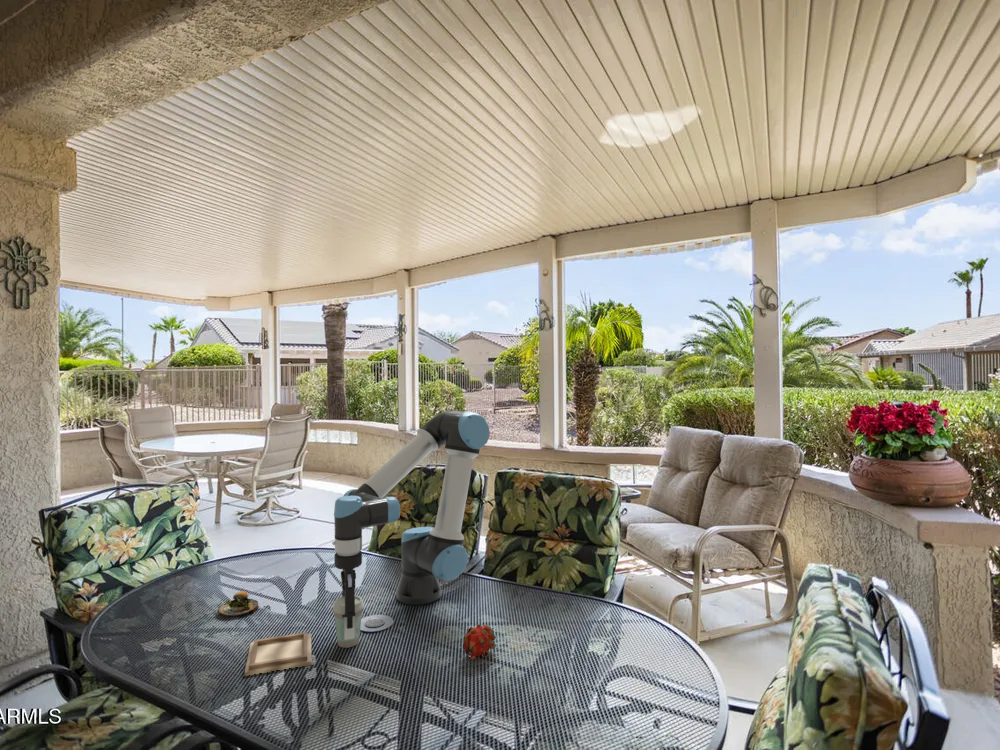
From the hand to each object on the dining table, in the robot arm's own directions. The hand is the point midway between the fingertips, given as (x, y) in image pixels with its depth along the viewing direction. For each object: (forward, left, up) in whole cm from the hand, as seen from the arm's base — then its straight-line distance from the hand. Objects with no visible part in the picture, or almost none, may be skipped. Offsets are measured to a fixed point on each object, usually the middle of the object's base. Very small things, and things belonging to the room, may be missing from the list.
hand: (348, 630), depth 155 cm
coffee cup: (0, 0, -4) cm, 4 cm away
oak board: (+18, +1, -3) cm, 18 cm away
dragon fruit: (-33, +19, -4) cm, 38 cm away
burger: (+32, -33, -4) cm, 46 cm away
